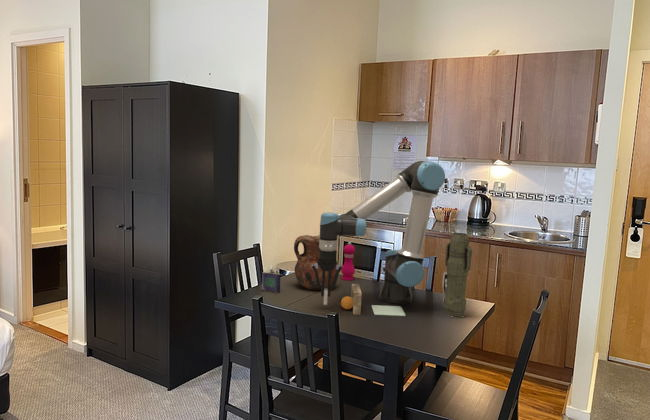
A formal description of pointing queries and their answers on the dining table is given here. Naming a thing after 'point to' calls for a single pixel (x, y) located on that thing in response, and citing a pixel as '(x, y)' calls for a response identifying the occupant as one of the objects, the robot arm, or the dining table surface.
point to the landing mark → (388, 310)
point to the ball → (347, 302)
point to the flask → (271, 281)
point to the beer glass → (444, 286)
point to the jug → (309, 263)
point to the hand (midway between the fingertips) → (325, 303)
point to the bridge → (356, 299)
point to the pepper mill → (348, 263)
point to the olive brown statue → (457, 274)
